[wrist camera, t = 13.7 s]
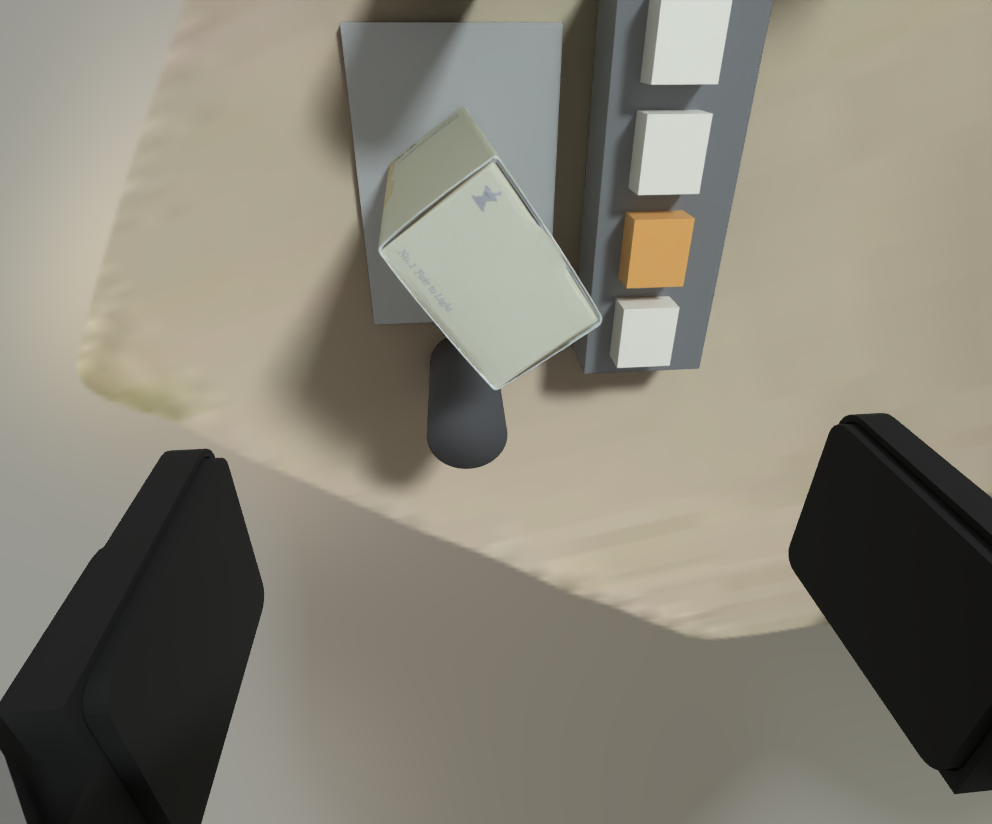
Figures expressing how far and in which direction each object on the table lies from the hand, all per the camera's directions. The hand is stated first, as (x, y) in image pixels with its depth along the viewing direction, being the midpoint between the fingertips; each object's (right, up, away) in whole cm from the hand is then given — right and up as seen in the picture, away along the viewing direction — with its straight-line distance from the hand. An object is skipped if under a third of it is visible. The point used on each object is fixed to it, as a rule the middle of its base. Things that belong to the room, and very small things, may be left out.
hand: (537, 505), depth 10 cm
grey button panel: (+1, +12, +19) cm, 23 cm away
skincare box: (-2, +12, +19) cm, 22 cm away
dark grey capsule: (-2, +4, +23) cm, 24 cm away
